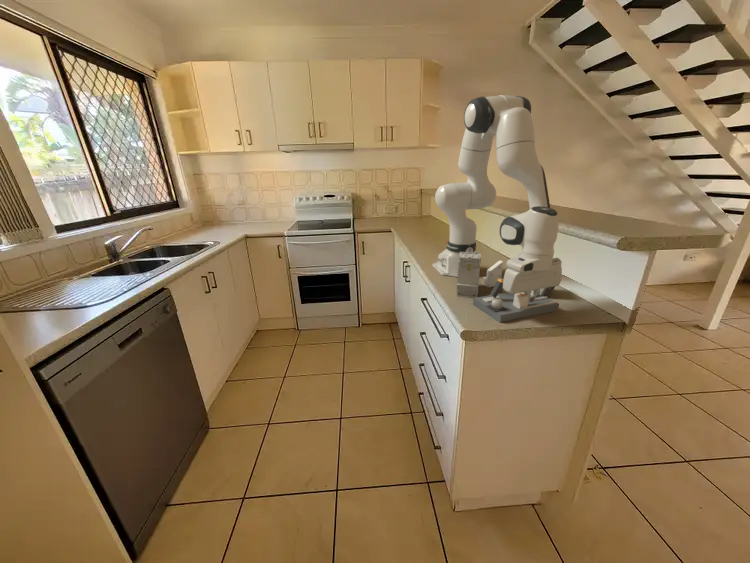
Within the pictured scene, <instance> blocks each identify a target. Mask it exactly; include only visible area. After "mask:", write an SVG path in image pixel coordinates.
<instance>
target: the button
mask: <svg viewBox="0 0 750 563" xmlns="http://www.w3.org/2000/svg"><path fill="white" fill-rule="evenodd" d="M502 304H503V300H501V299H497V298H495V299H492V305H491V307H492V308H493V309H502Z"/></svg>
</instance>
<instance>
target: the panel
mask: <svg viewBox="0 0 750 563" xmlns="http://www.w3.org/2000/svg"><path fill="white" fill-rule="evenodd" d="M514 294H517V293H514ZM514 294H510V293H508V292H506V291H505V292H501V293H500V292H499V293H498V295H497V297H496V298H497V299H501V300H503V304H502V309H493V308H492V307H491V305H492V299H495V297H493V296H491V295H490V294H488V295H485V296H479V297H478V296H477V298H473V297H472V298H473V301H472V305H473V306H474V307H475V308H477V309H478V310H480V311H482V312H483V313H484V314H486V315H488V316H489V317H491V318H492V319H494V320H495V321H497V322H498V323H504V322H508V321H514V320H517V319H522V318H528V316H529V317H533V316H539V315H544V314H547V313H551V312H552V313H553V312H556V311H559V306H560V303H559V302H558V301H557V300H553V299H551V298H549V297H547V296H542V295H540V294H539V295H537V296H536V299H535V301H533V302H528V306H527V307H523V308H521V309H519V308H517V307H515V306H514V305H513V301H514Z"/></svg>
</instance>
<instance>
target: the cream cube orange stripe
mask: <svg viewBox="0 0 750 563" xmlns="http://www.w3.org/2000/svg"><path fill="white" fill-rule="evenodd" d="M528 299H529V296H528V295H526V294H524V293H517V294H514V301H513V305H514V306H515V307H517V308H519V309H521V308H523V307H527V306H528Z"/></svg>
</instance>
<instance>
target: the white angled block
mask: <svg viewBox="0 0 750 563" xmlns="http://www.w3.org/2000/svg"><path fill="white" fill-rule="evenodd" d="M503 263H504V261H503V260H497V262H496V263H494V264H493V265H492V266H491V267H489V268H488V269H487V270H486V276H483V277H482V285H483V286H485V287H487V288H492V287H493V288H494V286H495V284H496V283H497V280H498V278H499V279H501V280H502V273H503Z"/></svg>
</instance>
